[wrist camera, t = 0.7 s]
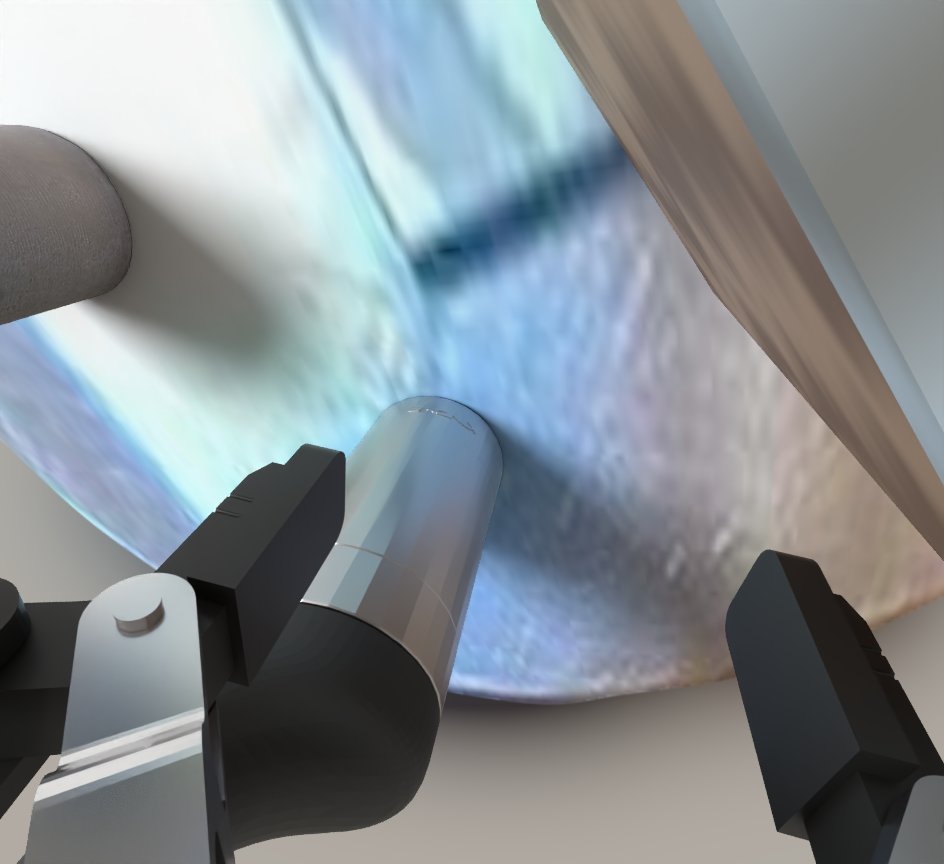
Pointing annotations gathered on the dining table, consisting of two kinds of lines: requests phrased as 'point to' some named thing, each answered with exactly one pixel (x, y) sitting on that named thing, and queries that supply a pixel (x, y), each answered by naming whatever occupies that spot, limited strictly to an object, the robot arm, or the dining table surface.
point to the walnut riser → (800, 194)
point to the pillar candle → (55, 225)
